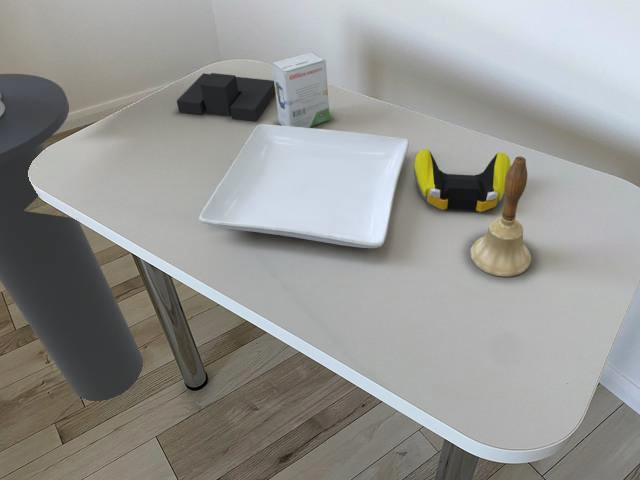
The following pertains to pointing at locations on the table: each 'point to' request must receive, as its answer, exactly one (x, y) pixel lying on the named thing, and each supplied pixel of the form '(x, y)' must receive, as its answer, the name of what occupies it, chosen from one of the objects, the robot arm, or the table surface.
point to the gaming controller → (461, 184)
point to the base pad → (244, 107)
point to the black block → (219, 93)
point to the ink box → (301, 90)
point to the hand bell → (505, 232)
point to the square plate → (311, 185)
